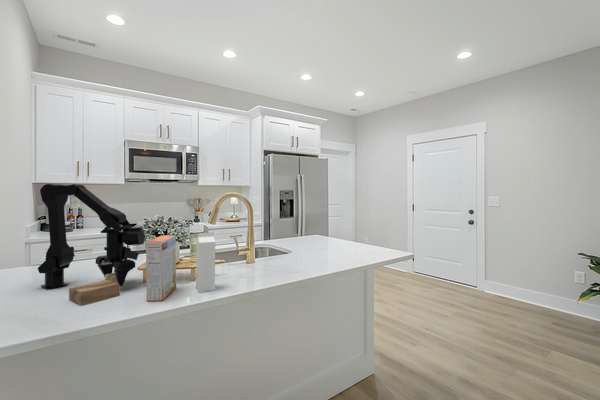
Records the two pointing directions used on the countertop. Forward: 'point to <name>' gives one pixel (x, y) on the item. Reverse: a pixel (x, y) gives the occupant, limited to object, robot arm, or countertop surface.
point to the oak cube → (112, 278)
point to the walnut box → (93, 292)
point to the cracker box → (160, 267)
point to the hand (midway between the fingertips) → (115, 283)
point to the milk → (205, 262)
